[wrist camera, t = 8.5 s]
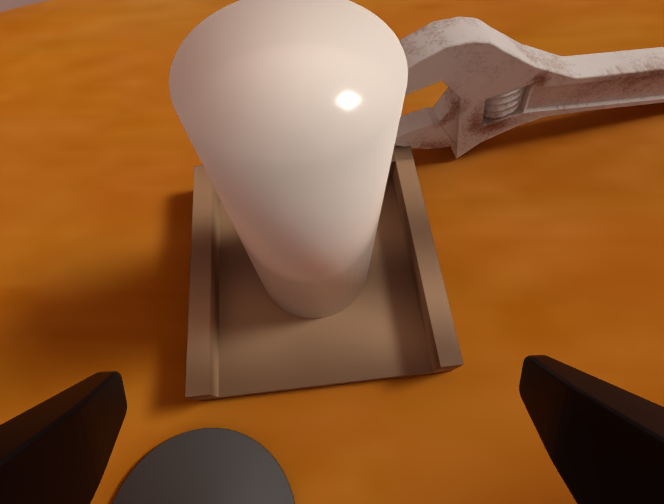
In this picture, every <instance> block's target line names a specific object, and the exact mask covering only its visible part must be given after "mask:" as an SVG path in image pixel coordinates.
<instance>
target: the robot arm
mask: <svg viewBox="0 0 664 504" xmlns="http://www.w3.org/2000/svg"><path fill="white" fill-rule="evenodd" d="M519 391H520V395H521V398H522V400H523V402H524V404H525V407H526V409H527V411H528V413H529V415H530V417H531V419H532V421H533V423H534V425H535V428H536V430H537V432H538V434H539V436H540V438H541V440H542V442H543V444H544V446H545V448H546V450H547V452H548V454H549V456H550V458H551V460H552V462H553V464H554V465H555V467H556V469H557V471H558V472H559V474H560V476H561V477H562V479H563V481H564V482H565V484H566V486H567V487H568V489H569V491H570V492H571V494H572V496H573V497H574V499H575V501H576V502H577V504H664V407H662V406H660V405H658V404H655V403H653V402H651V401H649V400H646V399H644V398H642V397H639V396H637V395H635V394H633V393H630V392H628V391H626V390H623V389H621V388H619V387H617V386H614V385H612V384H610V383H607V382H605V381H603V380H601V379H598V378H596V377H594V376H591V375H589V374H587V373H585V372H582V371H580V370H578V369H575V368H573V367H571V366H569V365H566V364H564V363H562V362H559V361H557V360H555V359H553V358H550V357H548V356H545V355H532V356H527V357H526V358H525V359H524V362H523V367H522V373H521V379H520V385H519ZM126 411H127V401H126V396H125V391H124V386H123V381H122V377H121V375H120V373H118V372H116V371H112V372H98V373H96V374H94V375H92V376H90V377H88V378H86V379H85V380H83V381H81V382H79V383H77V384H75V385H73V386H72V387H70V388H68V389H66V390H64V391H62V392H61V393H59V394H57V395H55V396H53V397H51V398H49V399H48V400H46V401H44V402H42V403H40V404H38V405H36V406H35V407H33V408H31V409H29V410H27V411H25V412H24V413H22V414H20V415H18V416H16V417H14V418H12V419H11V420H9V421H7V422H5V423H3V424H1V425H0V504H90V503H91V501H92V499H93V497H94V494H95V492H96V490H97V488H98V486H99V484H100V481H101V479H102V476H103V474H104V471H105V469H106V466H107V463H108V461H109V458H110V455H111V453H112V450H113V447H114V445H115V442H116V439H117V436H118V434H119V431H120V428H121V426H122V423H123V420H124V418H125V415H126Z"/></svg>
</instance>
